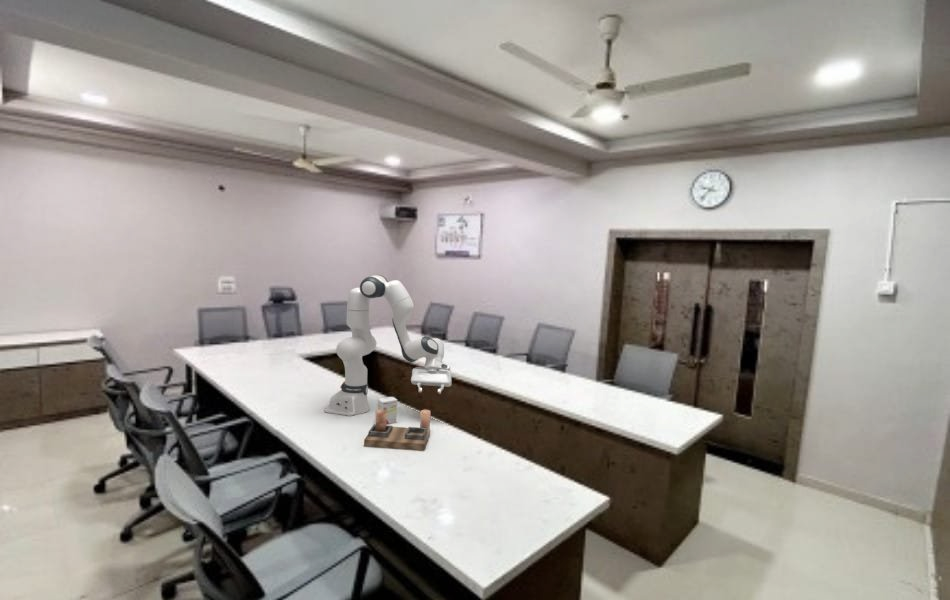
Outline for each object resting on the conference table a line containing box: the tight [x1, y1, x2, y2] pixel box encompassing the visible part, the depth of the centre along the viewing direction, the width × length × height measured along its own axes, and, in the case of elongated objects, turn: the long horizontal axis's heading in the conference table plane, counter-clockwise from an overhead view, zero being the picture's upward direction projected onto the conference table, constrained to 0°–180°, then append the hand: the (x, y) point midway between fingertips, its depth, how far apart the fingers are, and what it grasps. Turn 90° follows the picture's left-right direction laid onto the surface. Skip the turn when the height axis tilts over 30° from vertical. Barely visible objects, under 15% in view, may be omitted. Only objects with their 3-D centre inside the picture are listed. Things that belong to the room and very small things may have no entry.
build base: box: [363, 409, 431, 452], centre depth 200 cm, size 26×16×13 cm, turn 87°
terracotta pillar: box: [419, 409, 431, 430], centre depth 212 cm, size 5×5×10 cm
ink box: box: [376, 396, 398, 425], centre depth 220 cm, size 9×5×12 cm, turn 127°
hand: (429, 392), depth 221 cm, fingers open, 8 cm apart
